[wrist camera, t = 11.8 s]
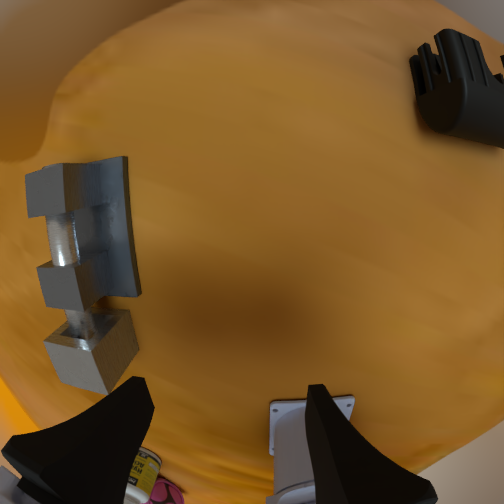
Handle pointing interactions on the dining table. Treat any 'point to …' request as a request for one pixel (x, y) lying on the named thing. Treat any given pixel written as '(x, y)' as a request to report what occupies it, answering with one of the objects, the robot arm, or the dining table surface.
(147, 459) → the supplement bottle
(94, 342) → the collar
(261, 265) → the dining table surface
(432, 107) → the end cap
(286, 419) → the robot arm
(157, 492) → the pencil case
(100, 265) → the shaft stand
